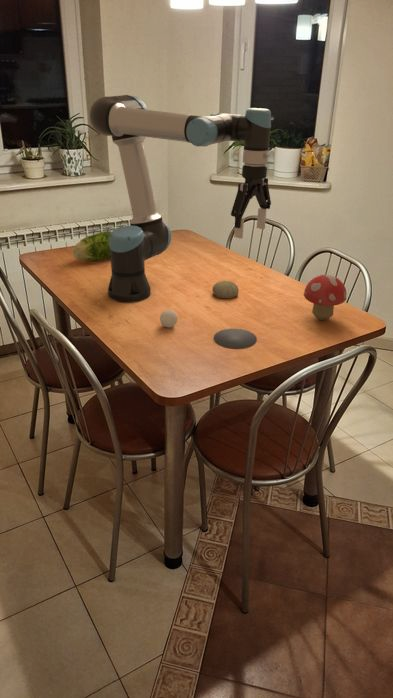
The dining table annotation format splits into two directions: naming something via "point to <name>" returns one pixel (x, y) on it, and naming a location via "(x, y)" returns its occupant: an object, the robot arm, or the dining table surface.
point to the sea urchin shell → (225, 289)
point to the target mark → (235, 338)
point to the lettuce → (93, 247)
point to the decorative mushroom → (325, 295)
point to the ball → (168, 318)
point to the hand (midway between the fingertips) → (249, 233)
